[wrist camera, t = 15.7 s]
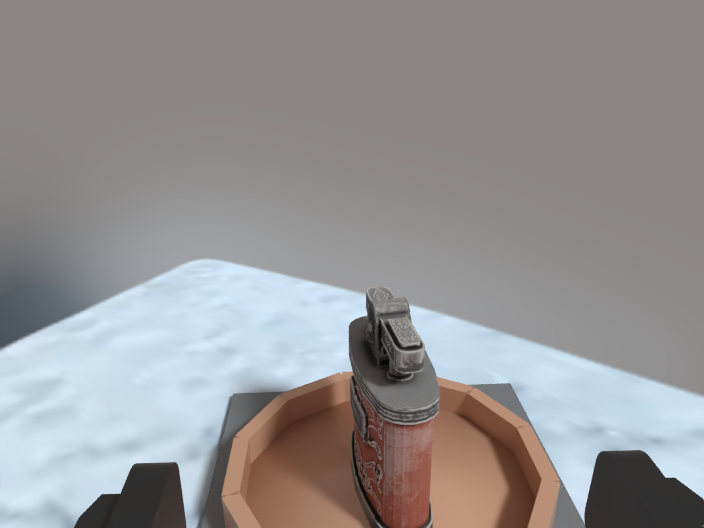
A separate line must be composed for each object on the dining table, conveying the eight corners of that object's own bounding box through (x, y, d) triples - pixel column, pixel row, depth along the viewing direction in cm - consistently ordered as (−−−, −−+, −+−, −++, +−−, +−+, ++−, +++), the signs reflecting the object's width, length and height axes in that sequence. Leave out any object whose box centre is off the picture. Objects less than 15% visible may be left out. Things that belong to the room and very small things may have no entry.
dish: (201, 654, 22) (195, 615, 21) (249, 404, 36) (247, 375, 35) (609, 631, 22) (618, 593, 22) (497, 394, 37) (500, 366, 36)
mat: (162, 697, 21) (161, 689, 21) (233, 398, 37) (233, 393, 37) (655, 668, 21) (656, 661, 21) (509, 388, 38) (510, 383, 38)
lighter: (340, 437, 32) (336, 272, 29) (399, 429, 33) (403, 266, 29) (373, 557, 25) (373, 357, 21) (447, 544, 26) (461, 347, 22)
